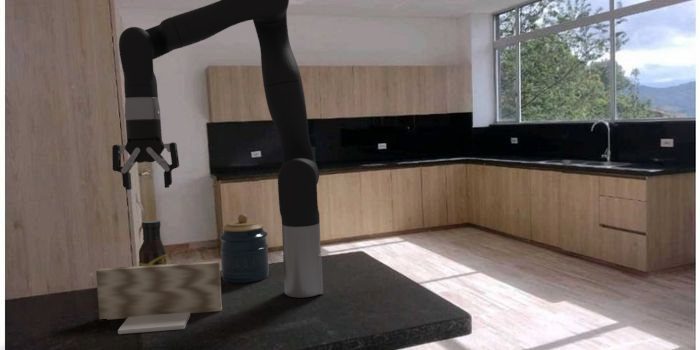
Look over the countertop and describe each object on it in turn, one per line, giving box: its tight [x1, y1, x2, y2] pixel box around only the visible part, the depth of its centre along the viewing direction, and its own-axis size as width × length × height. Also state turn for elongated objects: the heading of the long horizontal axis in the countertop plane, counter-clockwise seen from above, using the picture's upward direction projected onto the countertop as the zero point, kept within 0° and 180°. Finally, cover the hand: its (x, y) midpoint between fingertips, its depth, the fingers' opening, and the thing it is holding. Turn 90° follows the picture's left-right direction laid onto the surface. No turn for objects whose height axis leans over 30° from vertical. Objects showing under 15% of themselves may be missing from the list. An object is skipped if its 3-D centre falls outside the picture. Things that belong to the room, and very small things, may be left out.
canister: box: [219, 213, 270, 284], centre depth 148 cm, size 13×13×18 cm
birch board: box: [95, 260, 223, 320], centre depth 119 cm, size 26×2×11 cm, turn 98°
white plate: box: [117, 312, 191, 335], centre depth 113 cm, size 13×8×1 cm, turn 98°
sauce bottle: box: [138, 219, 168, 266], centre depth 126 cm, size 6×6×20 cm
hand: (148, 188), depth 124 cm, fingers open, 8 cm apart
